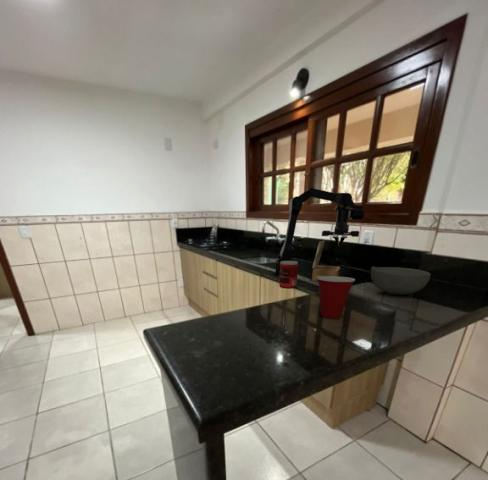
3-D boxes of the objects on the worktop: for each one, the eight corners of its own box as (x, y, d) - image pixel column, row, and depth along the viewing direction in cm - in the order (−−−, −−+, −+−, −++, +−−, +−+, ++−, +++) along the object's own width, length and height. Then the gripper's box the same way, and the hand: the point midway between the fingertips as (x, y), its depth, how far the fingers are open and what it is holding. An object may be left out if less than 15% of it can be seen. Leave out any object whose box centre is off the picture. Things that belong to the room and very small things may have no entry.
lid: (324, 240, 134) (323, 240, 134) (320, 242, 123) (319, 241, 124) (318, 264, 139) (316, 264, 139) (313, 268, 129) (312, 267, 129)
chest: (338, 277, 137) (340, 266, 135) (336, 282, 126) (337, 270, 124) (316, 276, 142) (317, 265, 140) (311, 280, 131) (312, 268, 129)
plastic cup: (349, 312, 84) (354, 274, 80) (350, 323, 74) (356, 281, 70) (314, 308, 87) (318, 272, 83) (311, 319, 78) (315, 278, 73)
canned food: (295, 285, 121) (297, 260, 117) (297, 289, 114) (298, 263, 110) (278, 284, 122) (279, 260, 118) (279, 288, 114) (280, 263, 111)
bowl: (414, 304, 92) (421, 275, 88) (358, 293, 106) (362, 268, 103) (432, 294, 104) (438, 269, 101) (379, 286, 119) (384, 263, 115)
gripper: (321, 219, 136) (318, 250, 141) (360, 219, 128) (355, 252, 134) (324, 219, 145) (321, 249, 151) (361, 219, 138) (356, 250, 143)
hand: (338, 250), depth 144 cm, fingers closed
